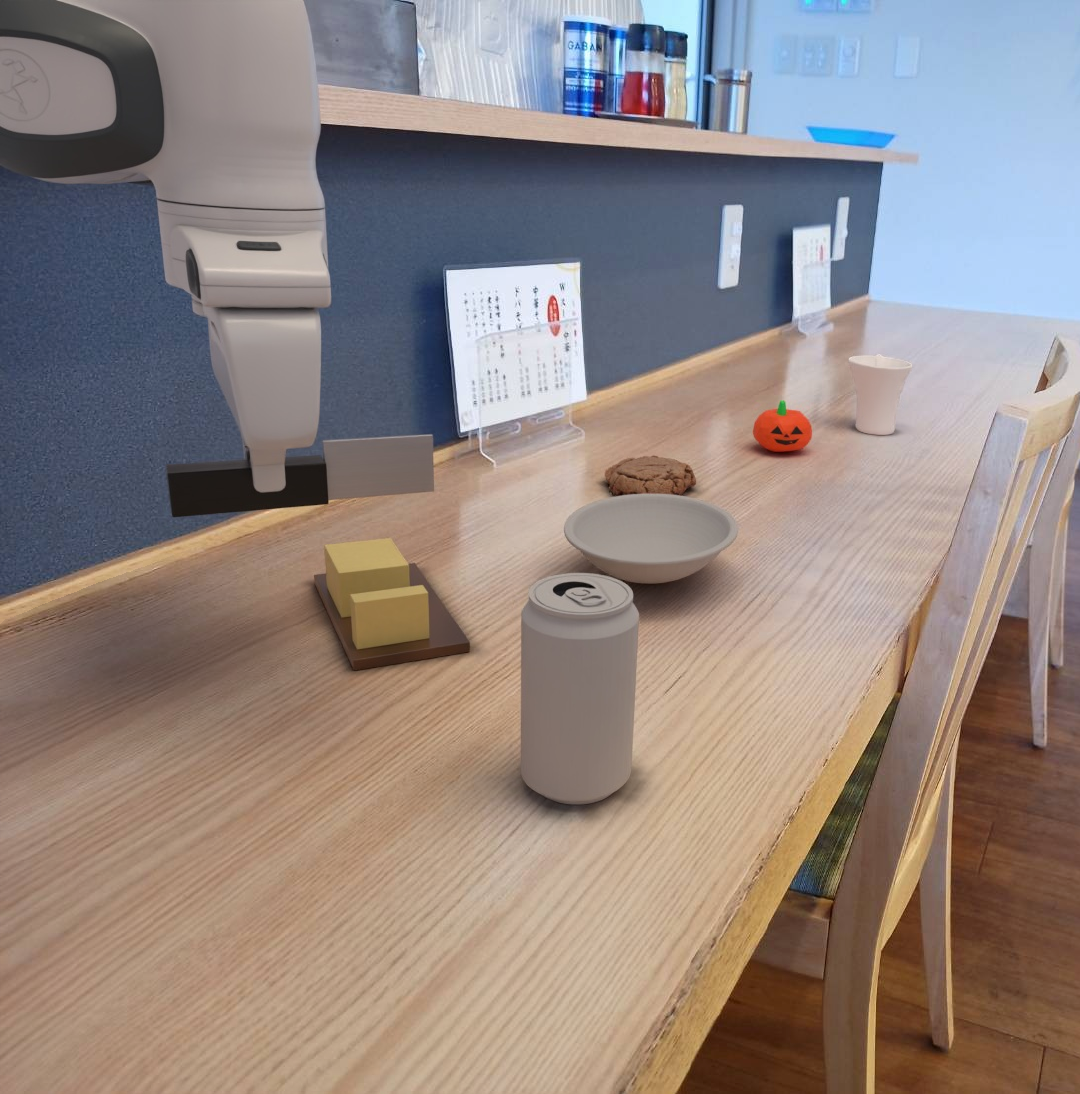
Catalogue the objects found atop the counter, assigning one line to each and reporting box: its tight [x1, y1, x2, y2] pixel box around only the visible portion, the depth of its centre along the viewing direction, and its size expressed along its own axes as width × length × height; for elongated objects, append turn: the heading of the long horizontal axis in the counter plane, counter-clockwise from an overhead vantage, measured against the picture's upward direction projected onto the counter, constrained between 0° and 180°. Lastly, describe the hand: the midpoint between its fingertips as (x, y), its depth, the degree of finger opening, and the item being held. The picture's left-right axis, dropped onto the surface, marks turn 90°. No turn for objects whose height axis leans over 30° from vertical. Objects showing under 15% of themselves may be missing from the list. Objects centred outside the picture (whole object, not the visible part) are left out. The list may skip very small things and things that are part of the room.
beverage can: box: [519, 572, 640, 805], centre depth 58 cm, size 6×6×12 cm
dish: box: [563, 494, 739, 585], centre depth 89 cm, size 18×14×5 cm
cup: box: [847, 353, 914, 436], centre depth 145 cm, size 9×9×10 cm
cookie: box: [604, 454, 697, 497], centre depth 113 cm, size 10×11×3 cm
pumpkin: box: [752, 400, 813, 453], centre depth 131 cm, size 7×8×6 cm
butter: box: [323, 537, 410, 618], centre depth 79 cm, size 5×6×4 cm
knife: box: [165, 433, 435, 518], centre depth 67 cm, size 16×2×4 cm, turn 119°
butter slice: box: [350, 585, 429, 650], centre depth 73 cm, size 5×2×4 cm, turn 120°
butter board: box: [313, 562, 471, 671], centre depth 79 cm, size 8×16×1 cm, turn 29°
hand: (265, 480), depth 66 cm, fingers closed on knife, 2 cm apart
